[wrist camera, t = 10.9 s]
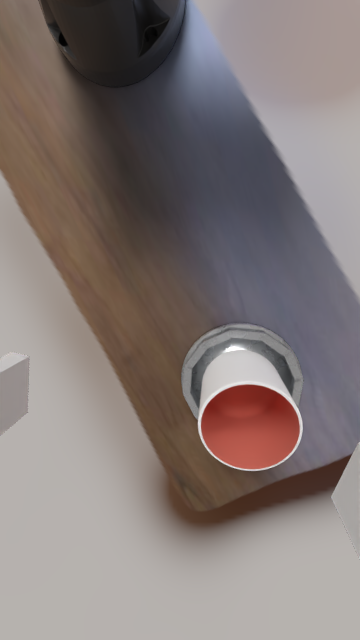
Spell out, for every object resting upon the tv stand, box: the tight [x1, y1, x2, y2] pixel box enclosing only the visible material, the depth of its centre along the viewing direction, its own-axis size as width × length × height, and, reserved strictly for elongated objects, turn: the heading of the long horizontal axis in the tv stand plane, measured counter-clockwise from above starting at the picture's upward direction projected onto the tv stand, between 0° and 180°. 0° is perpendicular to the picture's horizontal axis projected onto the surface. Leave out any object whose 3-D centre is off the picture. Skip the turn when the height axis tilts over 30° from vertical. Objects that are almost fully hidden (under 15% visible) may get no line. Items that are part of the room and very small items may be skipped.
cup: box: [198, 350, 303, 471], centre depth 30 cm, size 10×10×10 cm
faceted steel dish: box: [181, 323, 304, 420], centre depth 34 cm, size 16×16×2 cm
